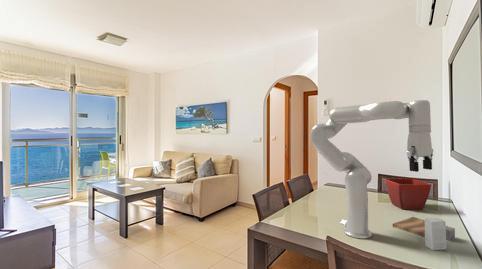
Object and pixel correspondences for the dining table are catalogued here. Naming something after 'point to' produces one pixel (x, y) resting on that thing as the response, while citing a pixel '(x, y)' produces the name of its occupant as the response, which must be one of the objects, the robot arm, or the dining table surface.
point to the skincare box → (435, 234)
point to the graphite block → (450, 233)
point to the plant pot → (408, 193)
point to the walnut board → (412, 225)
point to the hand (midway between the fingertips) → (420, 170)
